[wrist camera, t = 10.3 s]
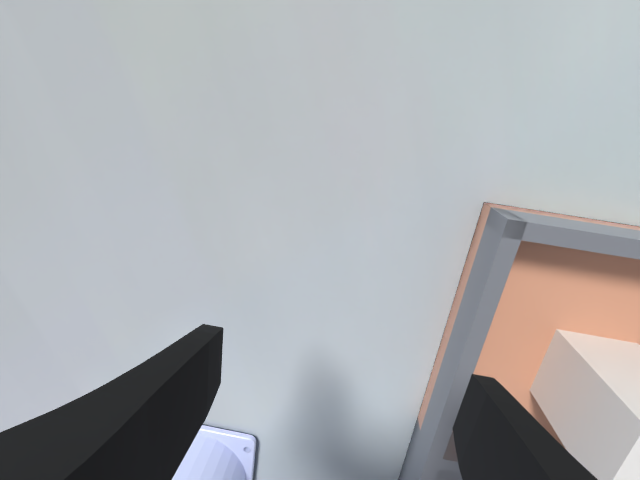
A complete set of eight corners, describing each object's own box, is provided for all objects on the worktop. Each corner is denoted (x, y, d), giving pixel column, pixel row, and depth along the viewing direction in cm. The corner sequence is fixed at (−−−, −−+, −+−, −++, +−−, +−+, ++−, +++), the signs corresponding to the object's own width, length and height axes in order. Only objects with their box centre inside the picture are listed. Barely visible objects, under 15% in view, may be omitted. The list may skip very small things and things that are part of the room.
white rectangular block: (604, 403, 19) (705, 524, 13) (529, 390, 19) (598, 502, 14) (637, 343, 18) (766, 449, 12) (556, 329, 18) (645, 426, 12)
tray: (562, 595, 26) (586, 653, 23) (375, 554, 27) (376, 606, 24) (786, 249, 16) (873, 277, 14) (483, 202, 17) (507, 219, 14)
